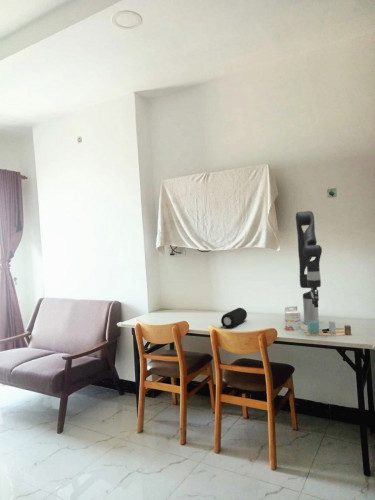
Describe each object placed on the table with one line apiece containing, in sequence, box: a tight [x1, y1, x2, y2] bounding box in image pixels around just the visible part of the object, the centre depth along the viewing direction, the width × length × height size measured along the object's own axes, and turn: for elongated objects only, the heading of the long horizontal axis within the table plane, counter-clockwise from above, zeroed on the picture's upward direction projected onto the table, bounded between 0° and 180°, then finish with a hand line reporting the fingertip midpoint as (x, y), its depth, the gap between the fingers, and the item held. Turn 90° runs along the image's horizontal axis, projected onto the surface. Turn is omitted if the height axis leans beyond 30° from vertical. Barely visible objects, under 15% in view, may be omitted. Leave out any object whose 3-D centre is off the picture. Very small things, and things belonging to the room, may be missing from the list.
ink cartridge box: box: [284, 305, 302, 332], centre depth 225 cm, size 9×5×15 cm, turn 92°
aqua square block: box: [307, 321, 320, 334], centre depth 214 cm, size 5×5×7 cm
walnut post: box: [343, 324, 352, 336], centre depth 206 cm, size 3×3×5 cm
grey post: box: [328, 321, 336, 335], centre depth 209 cm, size 3×3×7 cm
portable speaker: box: [220, 307, 248, 329], centre depth 249 cm, size 26×10×10 cm, turn 148°
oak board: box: [302, 327, 353, 338], centre depth 213 cm, size 16×25×1 cm, turn 85°
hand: (315, 305), depth 211 cm, fingers open, 8 cm apart
